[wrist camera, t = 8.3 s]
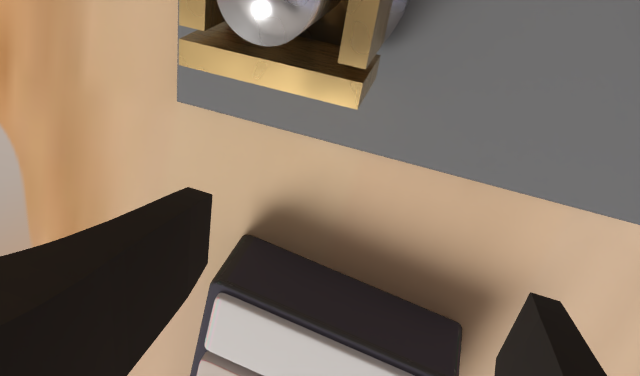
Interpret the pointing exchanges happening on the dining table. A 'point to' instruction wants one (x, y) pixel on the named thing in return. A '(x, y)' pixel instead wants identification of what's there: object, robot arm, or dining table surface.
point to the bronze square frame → (290, 53)
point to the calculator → (314, 323)
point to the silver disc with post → (294, 19)
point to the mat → (484, 98)
